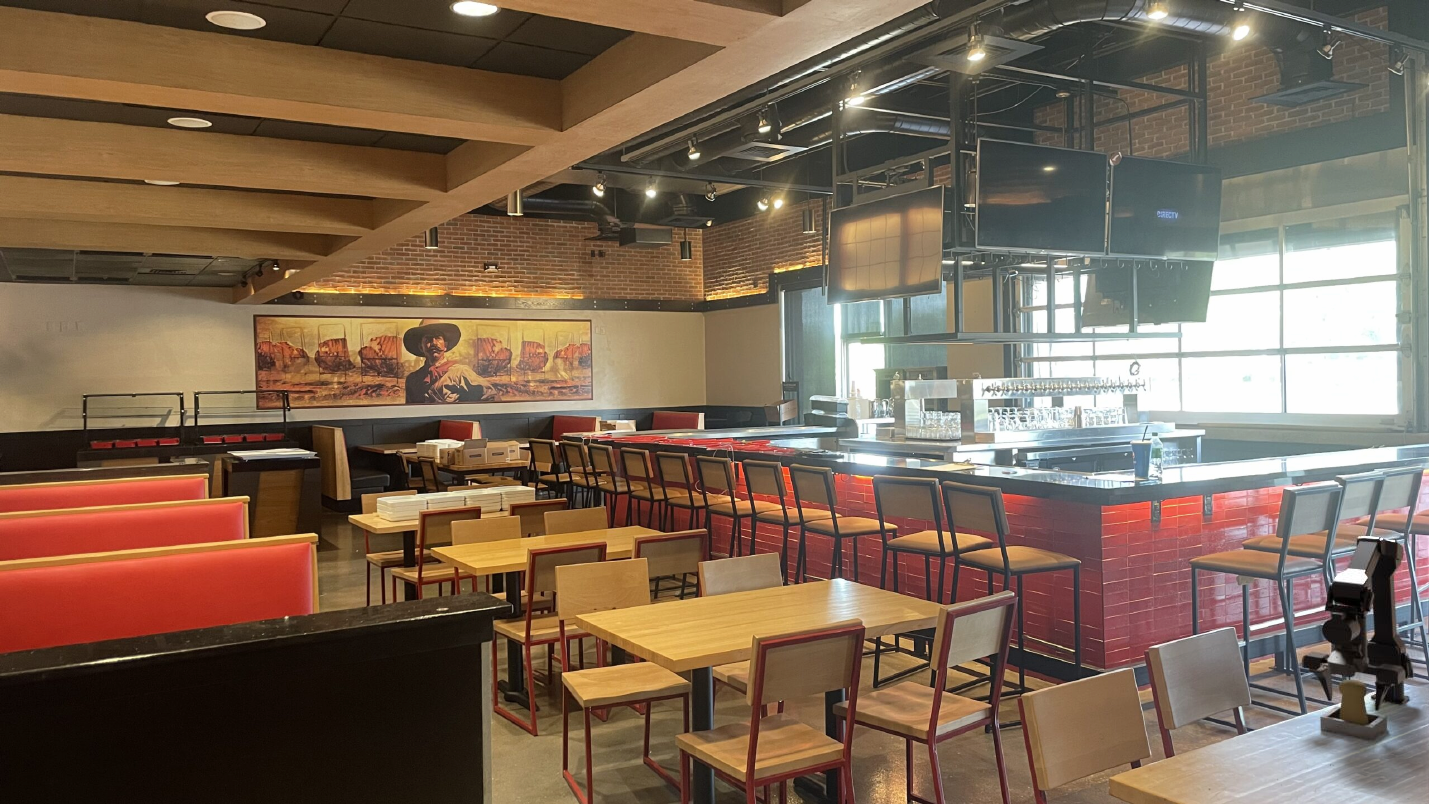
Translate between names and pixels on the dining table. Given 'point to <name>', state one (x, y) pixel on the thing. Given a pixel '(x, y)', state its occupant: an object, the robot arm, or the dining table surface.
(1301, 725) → the dining table surface
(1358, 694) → the cork
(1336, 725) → the socket frame
